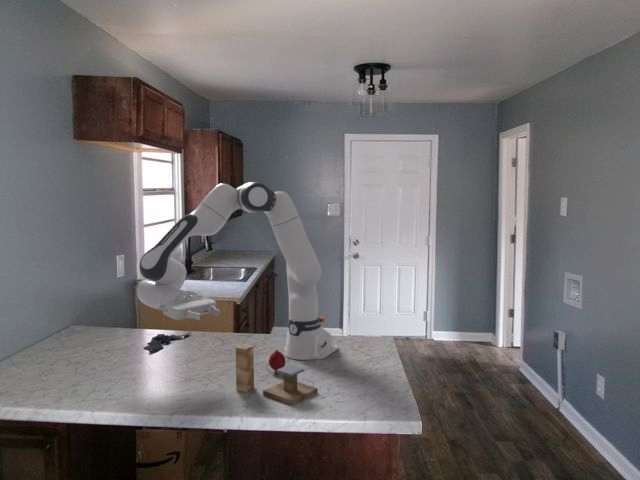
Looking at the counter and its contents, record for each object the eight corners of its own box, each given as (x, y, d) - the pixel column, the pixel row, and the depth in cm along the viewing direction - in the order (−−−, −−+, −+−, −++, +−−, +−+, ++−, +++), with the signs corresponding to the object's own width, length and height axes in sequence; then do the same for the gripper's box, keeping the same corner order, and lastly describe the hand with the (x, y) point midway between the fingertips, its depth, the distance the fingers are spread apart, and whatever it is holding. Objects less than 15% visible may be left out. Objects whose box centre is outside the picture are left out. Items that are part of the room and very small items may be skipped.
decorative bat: (174, 323, 233) (193, 327, 230) (173, 332, 234) (193, 336, 231) (129, 342, 205) (150, 346, 202) (128, 352, 206) (150, 357, 203)
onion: (288, 369, 187) (287, 347, 186) (281, 375, 181) (281, 352, 180) (272, 367, 189) (272, 345, 188) (266, 373, 183) (265, 350, 182)
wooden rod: (243, 385, 172) (243, 343, 170) (254, 388, 170) (253, 345, 168) (236, 390, 168) (235, 347, 167) (246, 392, 166) (245, 349, 165)
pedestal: (289, 383, 173) (288, 360, 173) (317, 392, 166) (317, 368, 165) (263, 395, 164) (262, 370, 163) (292, 405, 157) (291, 379, 156)
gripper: (156, 297, 169) (190, 310, 163) (198, 290, 187) (229, 301, 182) (153, 316, 170) (186, 329, 164) (195, 307, 188) (226, 319, 182)
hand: (209, 314), depth 173 cm, fingers open, 8 cm apart
